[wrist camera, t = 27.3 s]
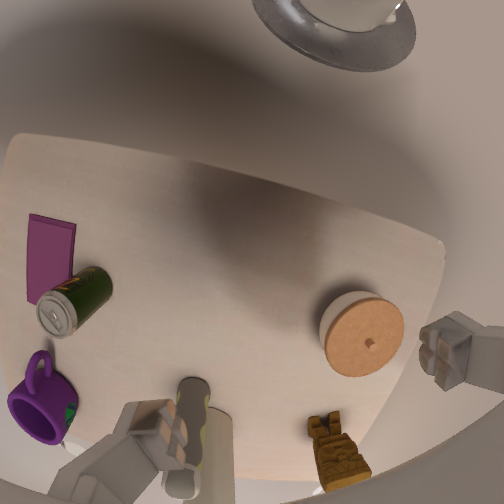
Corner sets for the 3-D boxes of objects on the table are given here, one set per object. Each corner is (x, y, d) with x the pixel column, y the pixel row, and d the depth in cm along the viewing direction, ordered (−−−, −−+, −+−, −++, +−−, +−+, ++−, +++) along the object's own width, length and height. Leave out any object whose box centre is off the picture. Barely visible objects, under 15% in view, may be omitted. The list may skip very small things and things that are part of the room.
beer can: (120, 291, 37) (82, 329, 25) (94, 309, 37) (54, 347, 25) (99, 258, 36) (53, 284, 24) (74, 277, 36) (27, 306, 24)
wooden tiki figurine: (343, 407, 43) (374, 469, 29) (340, 431, 45) (367, 490, 30) (303, 416, 43) (325, 483, 28) (304, 439, 44) (323, 503, 30)
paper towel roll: (231, 434, 43) (235, 539, 22) (196, 431, 42) (186, 536, 21) (233, 405, 41) (239, 519, 21) (195, 402, 41) (181, 516, 20)
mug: (84, 421, 41) (65, 455, 31) (36, 398, 40) (13, 427, 30) (81, 350, 38) (52, 385, 28) (27, 326, 37) (-6, 352, 27)
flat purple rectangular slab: (30, 213, 34) (28, 213, 33) (76, 224, 35) (74, 224, 34) (28, 300, 36) (26, 301, 35) (71, 316, 37) (69, 318, 36)
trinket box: (390, 312, 40) (423, 339, 31) (338, 361, 41) (361, 397, 32) (351, 264, 38) (384, 285, 29) (294, 319, 39) (311, 354, 30)
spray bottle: (178, 397, 41) (157, 501, 21) (179, 374, 40) (154, 481, 20) (209, 402, 41) (202, 507, 22) (211, 378, 40) (204, 488, 21)
